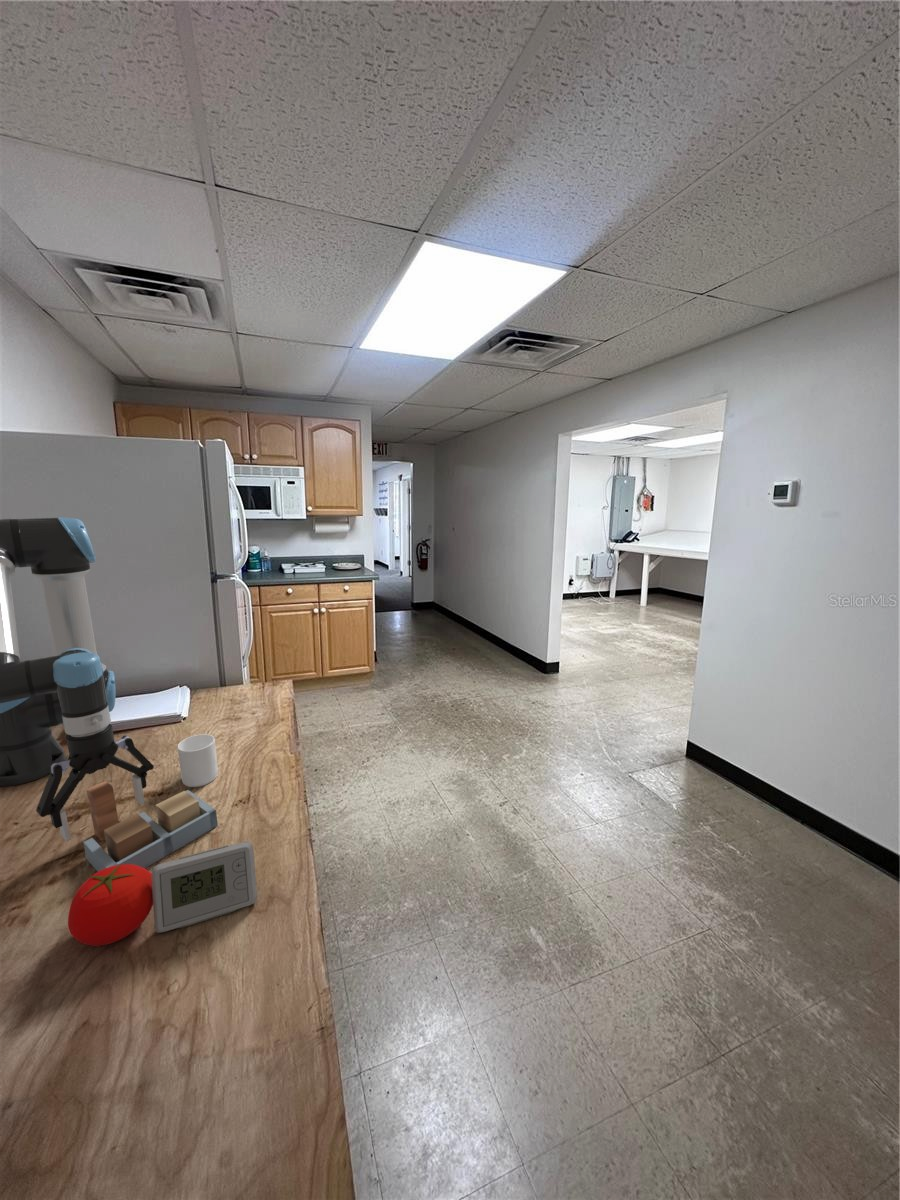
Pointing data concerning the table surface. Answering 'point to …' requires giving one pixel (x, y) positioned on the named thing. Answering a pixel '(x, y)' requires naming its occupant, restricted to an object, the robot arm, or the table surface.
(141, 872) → the tomato
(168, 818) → the oak block
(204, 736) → the cup
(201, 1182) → the table surface
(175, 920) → the digital clock
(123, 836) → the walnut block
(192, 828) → the lane shelf
